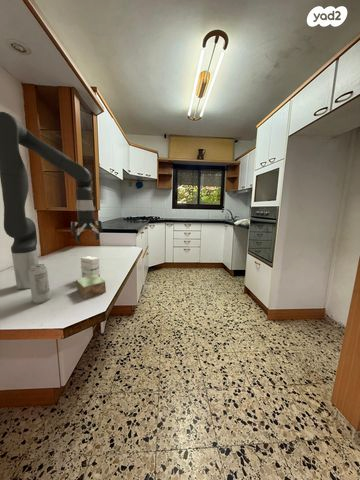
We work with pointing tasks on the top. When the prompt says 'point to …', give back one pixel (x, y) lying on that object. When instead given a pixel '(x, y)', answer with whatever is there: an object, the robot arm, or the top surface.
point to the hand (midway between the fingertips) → (88, 241)
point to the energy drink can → (39, 283)
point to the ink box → (90, 266)
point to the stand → (90, 286)
